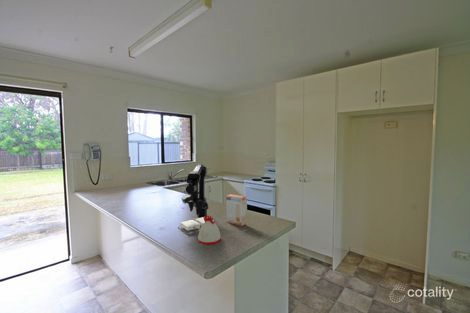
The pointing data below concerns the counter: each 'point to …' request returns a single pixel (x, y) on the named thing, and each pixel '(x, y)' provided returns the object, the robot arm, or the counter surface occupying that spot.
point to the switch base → (190, 230)
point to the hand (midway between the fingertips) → (194, 213)
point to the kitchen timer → (209, 232)
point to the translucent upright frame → (236, 209)
